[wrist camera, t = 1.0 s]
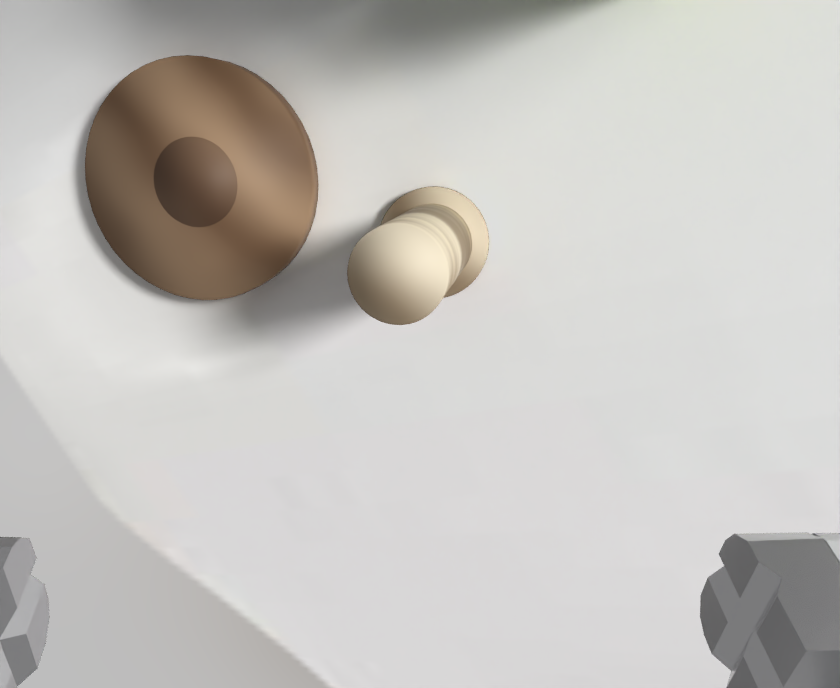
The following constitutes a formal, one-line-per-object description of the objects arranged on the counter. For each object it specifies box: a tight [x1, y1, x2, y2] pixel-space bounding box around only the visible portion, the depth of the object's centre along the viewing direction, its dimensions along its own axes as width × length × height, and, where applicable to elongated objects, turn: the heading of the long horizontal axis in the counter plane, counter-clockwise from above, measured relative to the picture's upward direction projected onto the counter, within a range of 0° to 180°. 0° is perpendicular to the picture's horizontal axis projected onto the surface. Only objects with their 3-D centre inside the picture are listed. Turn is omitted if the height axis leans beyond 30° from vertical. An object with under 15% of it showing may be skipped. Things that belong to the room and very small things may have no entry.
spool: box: [347, 186, 489, 325], centre depth 41 cm, size 6×6×11 cm
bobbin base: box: [85, 55, 318, 300], centre depth 47 cm, size 14×14×2 cm
